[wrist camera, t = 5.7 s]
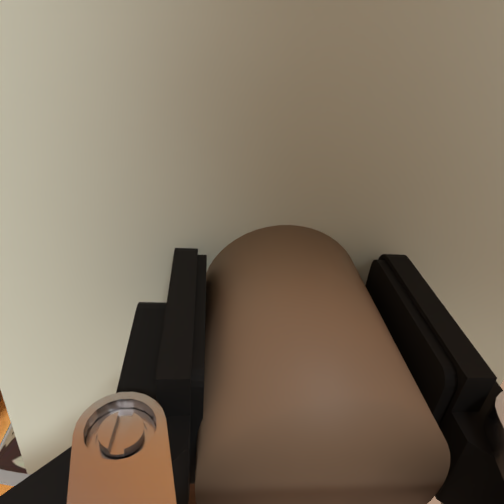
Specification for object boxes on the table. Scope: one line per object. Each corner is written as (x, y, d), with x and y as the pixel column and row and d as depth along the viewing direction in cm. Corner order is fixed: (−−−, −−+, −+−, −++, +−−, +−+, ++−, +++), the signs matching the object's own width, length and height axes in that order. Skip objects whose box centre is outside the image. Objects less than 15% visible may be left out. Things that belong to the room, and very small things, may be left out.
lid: (-112, -110, 7) (-971, -380, 2) (666, -22, 9) (1321, -42, 4) (40, 441, 15) (-54, 685, 10) (443, 433, 17) (550, 638, 11)
